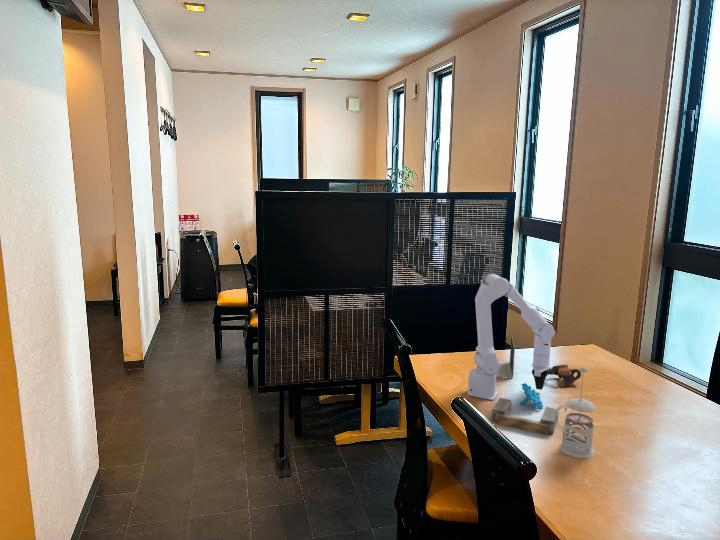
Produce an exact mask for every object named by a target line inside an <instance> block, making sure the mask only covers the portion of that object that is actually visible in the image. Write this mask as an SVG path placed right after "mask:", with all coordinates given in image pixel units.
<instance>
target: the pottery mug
mask: <svg viewBox="0 0 720 540" xmlns="http://www.w3.org/2000/svg"><path fill="white" fill-rule="evenodd" d="M552 366H553V365H552ZM548 370H549V373H548V375H547V376H549V375H551V376H553V375H554V376H557V377H558V378H559V379H561V380H557V384H558V387H559V388H560V387H573V386H574V385H573V383H575V382H576V381H578V380H580V378H581V377H582V372H580V368H579V369H578V368H570V367H569V365H568V364H559V365H554V366H553V368H552V369H548ZM575 374H576V375H575ZM574 375H575V376H574Z"/></svg>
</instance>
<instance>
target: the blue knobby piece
mask: <svg viewBox="0 0 720 540" xmlns="http://www.w3.org/2000/svg"><path fill="white" fill-rule="evenodd" d="M521 390H523V393H524V395H526V397H524V398H523V400H521V401H520V403H519V404H520V405H524V404H525V403H527V402H529V401H530V402H532V404H533V405H534V406H535V407H536V408H538V409H539V410H540V409H543V408H544V405H543V401H541V398H540V396H539V395H537V392H536V390H535V389H534V388H533V389H532V387H531V385H528V384H527V383H525V382H523V383H522V384H521Z"/></svg>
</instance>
